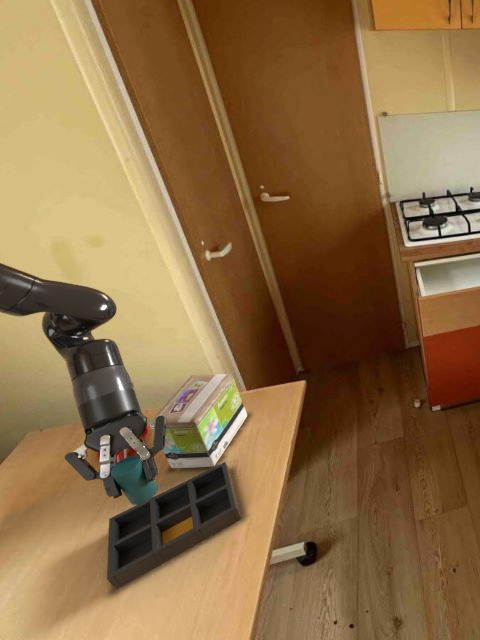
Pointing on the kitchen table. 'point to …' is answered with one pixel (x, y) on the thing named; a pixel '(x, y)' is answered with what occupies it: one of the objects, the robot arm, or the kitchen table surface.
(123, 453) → the tracker holder
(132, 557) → the grid
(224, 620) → the kitchen table surface
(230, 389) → the tea box
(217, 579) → the kitchen table surface
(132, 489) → the cylinder
